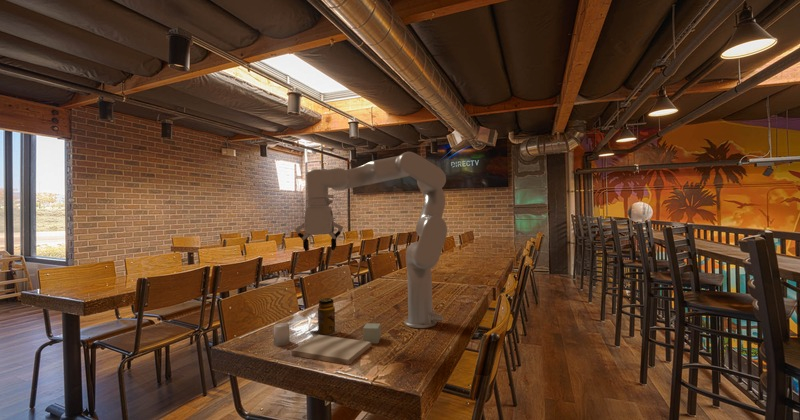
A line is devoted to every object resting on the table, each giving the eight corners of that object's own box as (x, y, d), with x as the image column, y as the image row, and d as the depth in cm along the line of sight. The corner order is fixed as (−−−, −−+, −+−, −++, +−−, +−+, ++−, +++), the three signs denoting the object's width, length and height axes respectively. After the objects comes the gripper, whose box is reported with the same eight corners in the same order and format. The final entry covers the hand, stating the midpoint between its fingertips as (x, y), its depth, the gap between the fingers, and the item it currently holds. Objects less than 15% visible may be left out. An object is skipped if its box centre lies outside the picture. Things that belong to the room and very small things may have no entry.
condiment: (339, 333, 121) (338, 300, 121) (316, 338, 116) (315, 303, 116) (331, 327, 127) (330, 296, 127) (309, 332, 122) (309, 299, 122)
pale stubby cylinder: (292, 341, 114) (292, 323, 114) (282, 346, 109) (282, 328, 109) (281, 339, 116) (280, 322, 116) (270, 344, 111) (270, 326, 111)
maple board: (370, 346, 108) (370, 341, 108) (348, 364, 95) (348, 359, 95) (318, 339, 115) (318, 334, 115) (291, 355, 102) (291, 350, 102)
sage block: (380, 338, 115) (380, 323, 115) (378, 343, 110) (377, 328, 110) (366, 337, 116) (366, 323, 116) (363, 343, 111) (363, 328, 111)
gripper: (343, 202, 126) (345, 248, 125) (297, 204, 125) (299, 250, 125) (340, 202, 118) (342, 250, 118) (291, 204, 118) (293, 252, 118)
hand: (320, 250), depth 122 cm, fingers open, 9 cm apart
